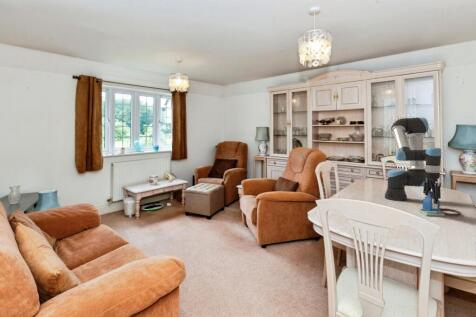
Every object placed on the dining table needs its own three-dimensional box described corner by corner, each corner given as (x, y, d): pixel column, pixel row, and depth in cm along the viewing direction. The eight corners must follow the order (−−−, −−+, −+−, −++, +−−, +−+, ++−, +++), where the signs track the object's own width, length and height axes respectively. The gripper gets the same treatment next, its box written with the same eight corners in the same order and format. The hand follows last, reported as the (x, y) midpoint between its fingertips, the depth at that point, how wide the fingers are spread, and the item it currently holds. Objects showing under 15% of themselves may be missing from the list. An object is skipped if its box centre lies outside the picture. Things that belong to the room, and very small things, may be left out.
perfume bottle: (431, 208, 162) (432, 190, 161) (439, 211, 156) (440, 192, 155) (422, 208, 162) (423, 190, 161) (429, 211, 156) (430, 193, 155)
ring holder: (433, 210, 166) (433, 208, 166) (452, 210, 164) (452, 208, 164) (444, 215, 155) (444, 213, 155) (465, 216, 153) (465, 214, 153)
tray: (417, 210, 166) (417, 208, 165) (434, 211, 164) (434, 209, 164) (426, 216, 156) (426, 213, 155) (444, 216, 154) (444, 214, 154)
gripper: (417, 169, 167) (416, 202, 169) (435, 174, 148) (433, 211, 150) (429, 169, 166) (428, 202, 168) (449, 174, 146) (447, 211, 149)
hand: (430, 206), depth 159 cm, fingers closed on perfume bottle, 7 cm apart
